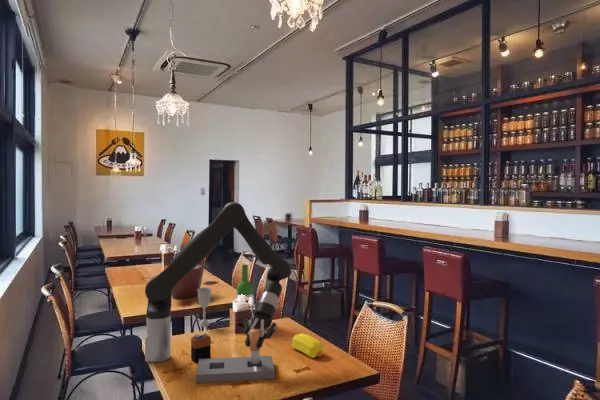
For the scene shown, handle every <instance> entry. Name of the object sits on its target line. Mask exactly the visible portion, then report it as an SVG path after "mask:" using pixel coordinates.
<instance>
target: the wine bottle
mask: <svg viewBox="0 0 600 400" xmlns="http://www.w3.org/2000/svg"><path fill="white" fill-rule="evenodd" d="M248 268H249V265H248V264H242V265H241V281H239V282H238V284H237V285H236V286H237V287H236V298H237V297H238V295H241V294H243V295H245V296H246V297H248V298H249V297H252V298H253V285H252V282H250V281H249V275H248V273H249V270H248Z"/></svg>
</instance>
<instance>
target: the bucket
mask: <svg viewBox="0 0 600 400" xmlns="http://www.w3.org/2000/svg"><path fill="white" fill-rule="evenodd" d="M168 266H169V265H167V266H166V268H167V267H168ZM204 271H205V265H203V264H200V263H199V264H198V265H197V266H196V267H195V268H194V269H193V270H191V271H190V272H189V273H188V274H186V275H185V276H184V277H183V278H182V279H181V280H180V281H179V282H178V283H177V284H176V285H175V286H174V288H173V289H172V297H171V298H173V299H175V298H178V299H177V300H187V299H188V298H189V299H195V298H194V297H196V298H198V291H197V289H199V288H201V286H202V281H203V276H204V275H203V274H204Z"/></svg>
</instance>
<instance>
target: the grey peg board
mask: <svg viewBox="0 0 600 400" xmlns="http://www.w3.org/2000/svg"><path fill="white" fill-rule="evenodd" d="M275 372H276V371H275V366H274V361H273V356H272V355H259V363H257V364H252V363H250V356H236V357H235V356H234V357H215V358H214V357H213V358H212V357H211V358H208V359H199V362H197V367H196V373H195V383H196V384H205V383H222V382H223V383H224V382H242V381H246V382H247V381H262V380H275V379H276V377H275V376H276V375H275Z"/></svg>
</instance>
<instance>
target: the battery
mask: <svg viewBox="0 0 600 400" xmlns="http://www.w3.org/2000/svg"><path fill="white" fill-rule="evenodd" d="M190 340H191V343H190V352H191V353H190V359H191V361H193V362H194V363H199V359H208V358H212V357H211V351H212V350H211V349H212V348H211V345H212V344H211V342H212V340H211V336H210V335H208V333H203V334H201V335H200V334H195V335H194V336H192V337H191V339H190Z"/></svg>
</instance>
